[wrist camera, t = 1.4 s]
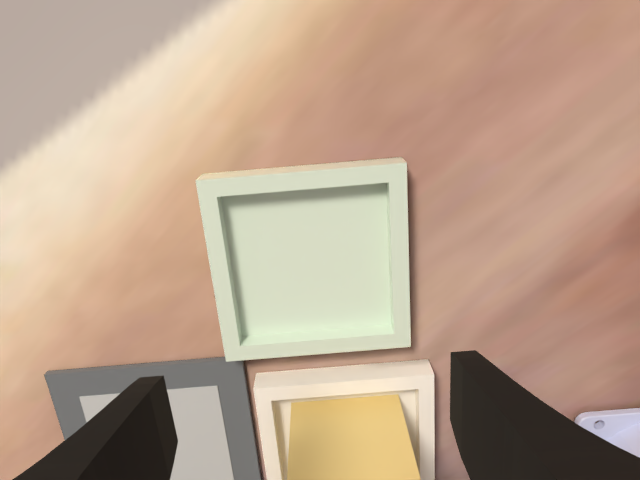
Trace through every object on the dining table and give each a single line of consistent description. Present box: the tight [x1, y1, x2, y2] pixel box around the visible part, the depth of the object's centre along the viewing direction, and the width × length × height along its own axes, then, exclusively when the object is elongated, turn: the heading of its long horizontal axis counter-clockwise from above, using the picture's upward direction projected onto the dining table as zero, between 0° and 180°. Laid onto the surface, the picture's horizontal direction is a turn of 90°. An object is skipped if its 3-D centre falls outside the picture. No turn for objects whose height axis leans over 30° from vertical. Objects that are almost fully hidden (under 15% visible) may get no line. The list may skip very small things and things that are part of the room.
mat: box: [44, 357, 262, 480], centre depth 24 cm, size 9×9×1 cm
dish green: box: [196, 157, 411, 362], centre depth 21 cm, size 8×8×1 cm
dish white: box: [253, 359, 435, 480], centre depth 24 cm, size 8×8×1 cm
